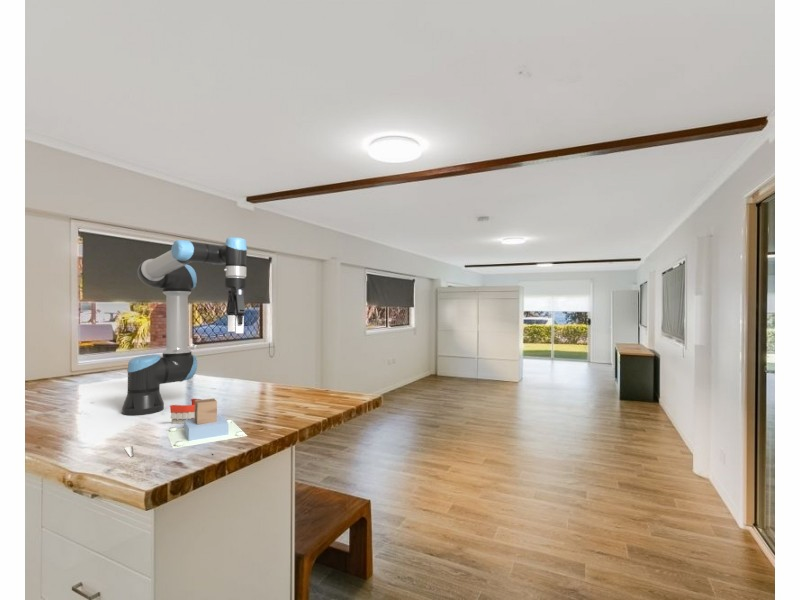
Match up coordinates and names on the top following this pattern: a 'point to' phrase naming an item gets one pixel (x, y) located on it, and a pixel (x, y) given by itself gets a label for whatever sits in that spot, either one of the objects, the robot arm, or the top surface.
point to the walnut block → (205, 411)
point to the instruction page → (129, 451)
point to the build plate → (180, 439)
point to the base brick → (205, 429)
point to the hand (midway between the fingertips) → (235, 332)
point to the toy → (182, 412)
